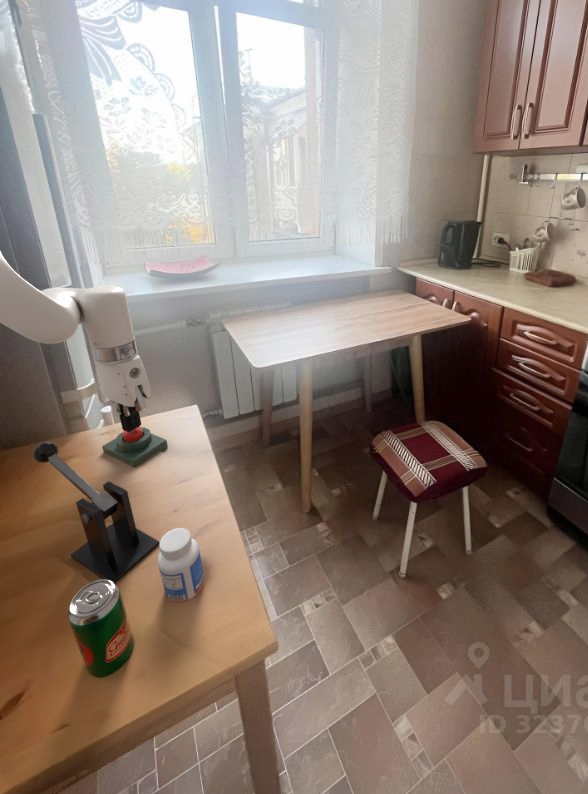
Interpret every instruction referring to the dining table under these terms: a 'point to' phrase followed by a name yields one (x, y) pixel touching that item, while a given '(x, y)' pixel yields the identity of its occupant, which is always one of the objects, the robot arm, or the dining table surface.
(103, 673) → the soda can
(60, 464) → the lever
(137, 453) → the control block
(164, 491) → the dining table surface
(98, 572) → the bracket
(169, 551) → the pill bottle
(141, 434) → the button
